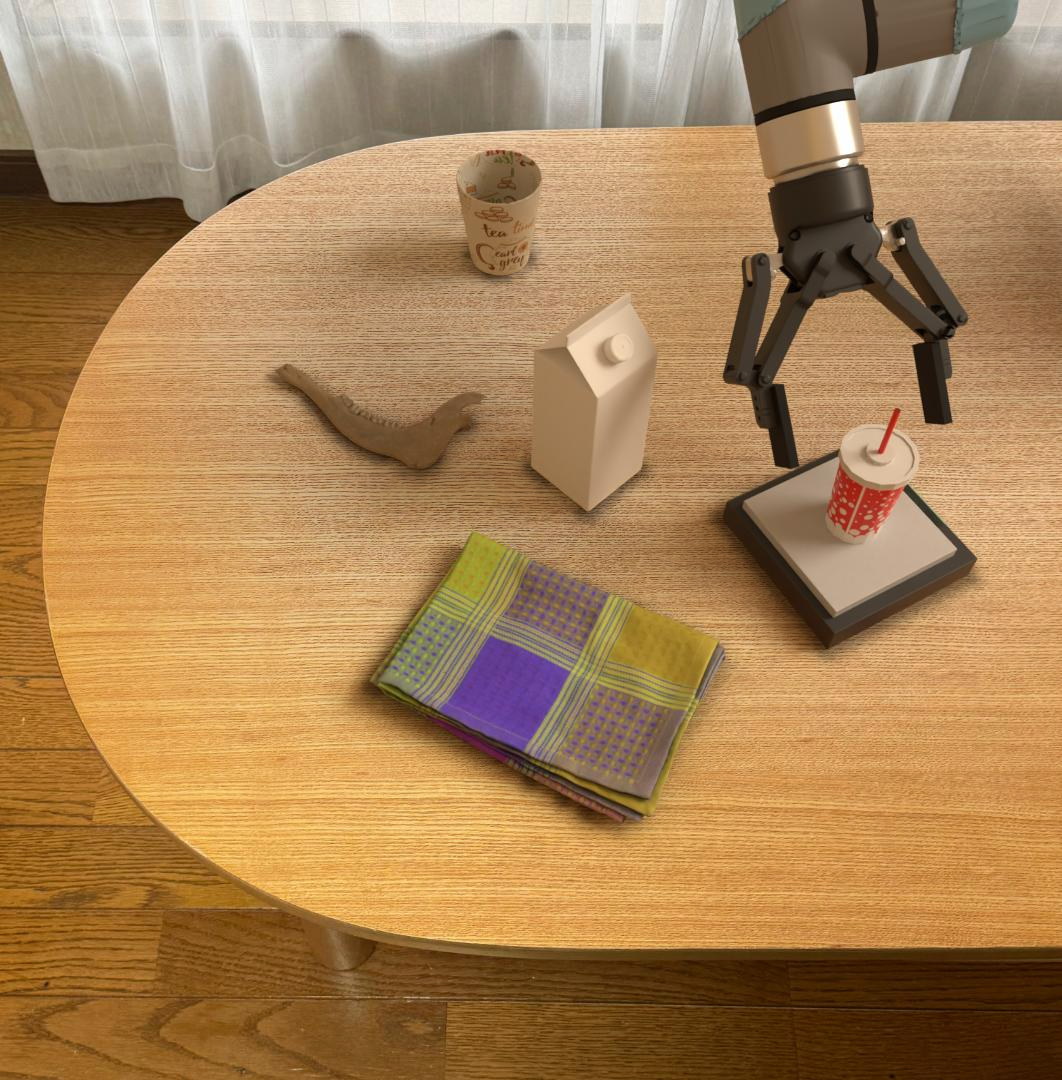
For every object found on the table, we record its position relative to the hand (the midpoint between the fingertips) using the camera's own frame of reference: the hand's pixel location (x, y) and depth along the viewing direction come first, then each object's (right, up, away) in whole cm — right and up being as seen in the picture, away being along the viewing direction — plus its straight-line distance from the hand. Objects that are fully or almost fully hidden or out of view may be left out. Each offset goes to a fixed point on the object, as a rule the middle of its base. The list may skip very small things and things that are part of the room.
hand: (864, 445), depth 93 cm
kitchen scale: (0, -8, +8) cm, 11 cm away
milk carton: (-21, -1, +12) cm, 25 cm away
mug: (-29, +23, +30) cm, 48 cm away
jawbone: (-40, +6, +17) cm, 44 cm away
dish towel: (-25, -18, 0) cm, 31 cm away
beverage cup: (0, -6, +5) cm, 8 cm away
